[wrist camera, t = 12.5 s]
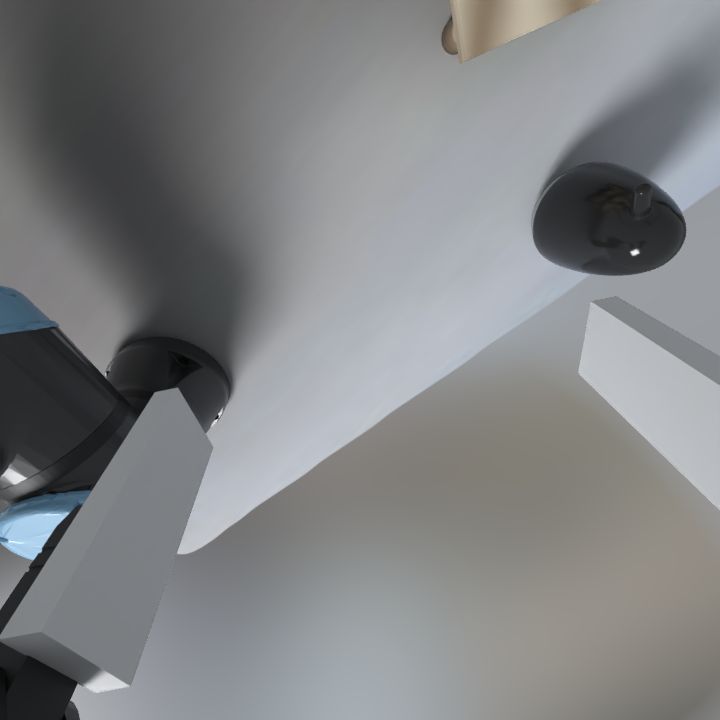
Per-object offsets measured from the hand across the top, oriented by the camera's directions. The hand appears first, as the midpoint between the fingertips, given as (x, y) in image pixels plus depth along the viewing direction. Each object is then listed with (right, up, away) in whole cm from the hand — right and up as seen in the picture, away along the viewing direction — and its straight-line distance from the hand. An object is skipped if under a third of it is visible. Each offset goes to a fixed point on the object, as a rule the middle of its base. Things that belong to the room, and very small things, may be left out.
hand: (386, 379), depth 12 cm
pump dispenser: (+22, +18, +29) cm, 41 cm away
